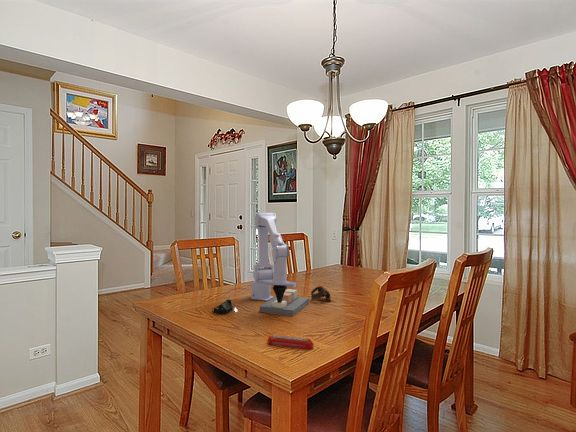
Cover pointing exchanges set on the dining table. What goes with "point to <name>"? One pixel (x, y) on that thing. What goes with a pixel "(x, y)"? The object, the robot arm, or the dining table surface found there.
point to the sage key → (294, 293)
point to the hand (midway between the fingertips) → (279, 302)
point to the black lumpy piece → (224, 307)
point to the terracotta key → (287, 297)
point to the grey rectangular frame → (288, 310)
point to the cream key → (279, 304)
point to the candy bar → (290, 341)
